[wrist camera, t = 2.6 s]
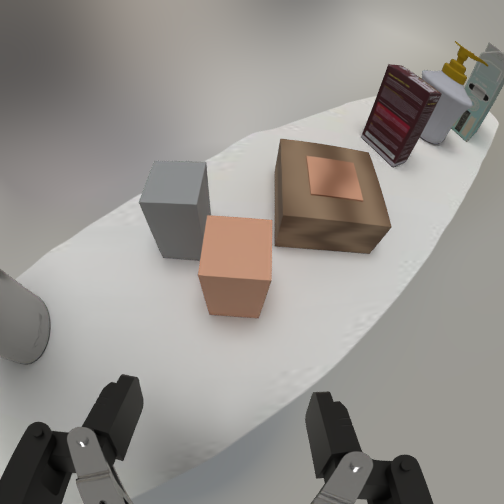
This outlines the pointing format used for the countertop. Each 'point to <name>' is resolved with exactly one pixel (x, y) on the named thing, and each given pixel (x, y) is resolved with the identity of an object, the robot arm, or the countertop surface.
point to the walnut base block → (327, 199)
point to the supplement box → (399, 114)
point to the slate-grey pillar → (177, 207)
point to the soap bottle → (448, 96)
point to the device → (481, 91)
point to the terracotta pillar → (236, 265)
